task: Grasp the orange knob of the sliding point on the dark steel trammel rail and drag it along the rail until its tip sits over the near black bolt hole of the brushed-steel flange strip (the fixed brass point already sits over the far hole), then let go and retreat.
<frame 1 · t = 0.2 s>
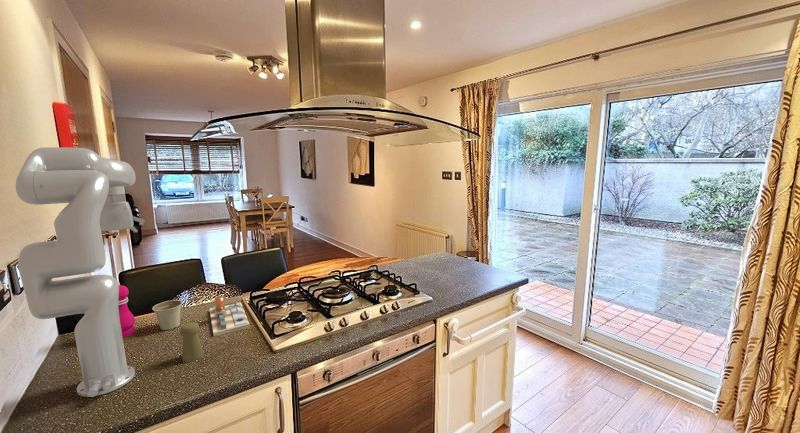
hand: (119, 243, 130), 31 cm above the countertop, fingers open, 9 cm apart
flower pot: (170, 326, 129), on the countertop
cork: (193, 356, 110), on the countertop
pepper mill: (124, 334, 124), on the countertop
sliding point: (226, 305, 135), point 5 cm above the countertop, slide at 1.0 cm
gauge board: (228, 318, 135), on the countertop
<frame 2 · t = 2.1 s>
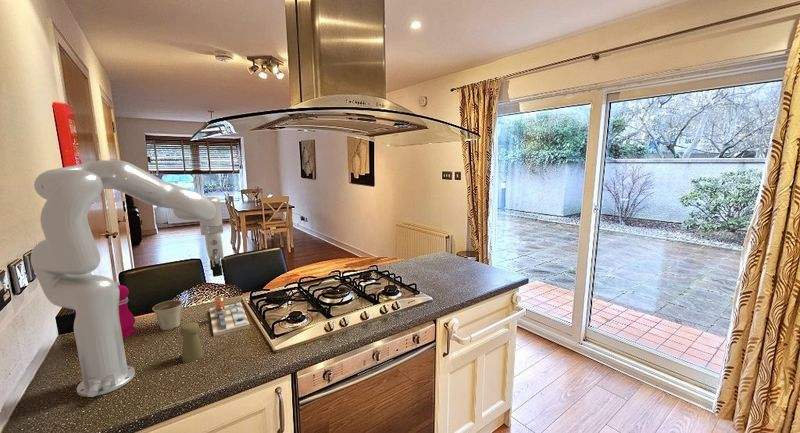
hand: (216, 272, 133), 19 cm above the countertop, fingers open, 9 cm apart
nothing on the countertop moved.
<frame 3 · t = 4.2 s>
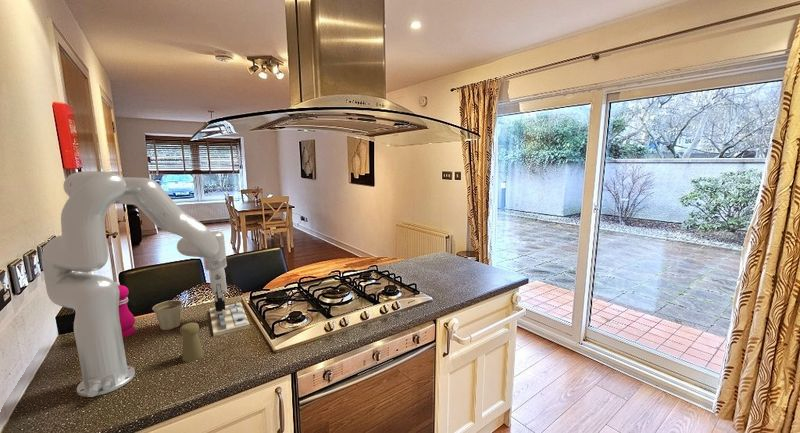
hand: (220, 308, 134), 5 cm above the countertop, fingers closed on sliding point, 3 cm apart
sliding point: (226, 305, 135), point 5 cm above the countertop, slide at 1.0 cm, touching gripper
everything else where it was.
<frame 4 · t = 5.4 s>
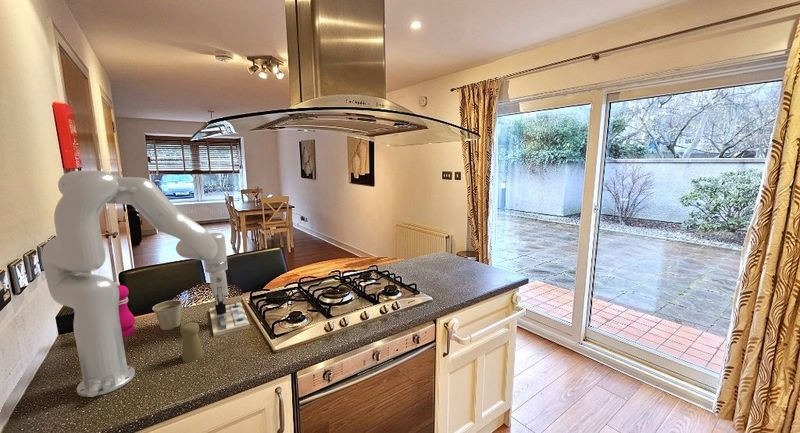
hand: (221, 311, 131), 5 cm above the countertop, fingers closed on sliding point, 3 cm apart
sliding point: (227, 308, 132), point 5 cm above the countertop, slide at -2.5 cm, touching gripper
everything else where it was.
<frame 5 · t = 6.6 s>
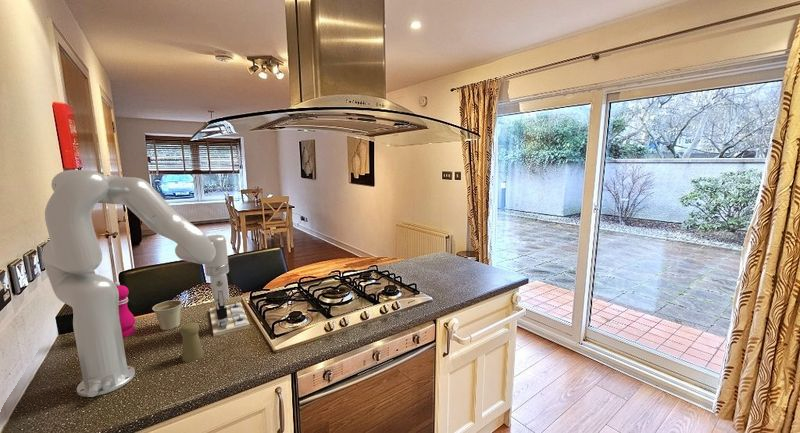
hand: (222, 315, 127), 5 cm above the countertop, fingers closed on sliding point, 3 cm apart
sliding point: (228, 312, 128), point 5 cm above the countertop, slide at -6.9 cm, touching gripper
everything else where it was.
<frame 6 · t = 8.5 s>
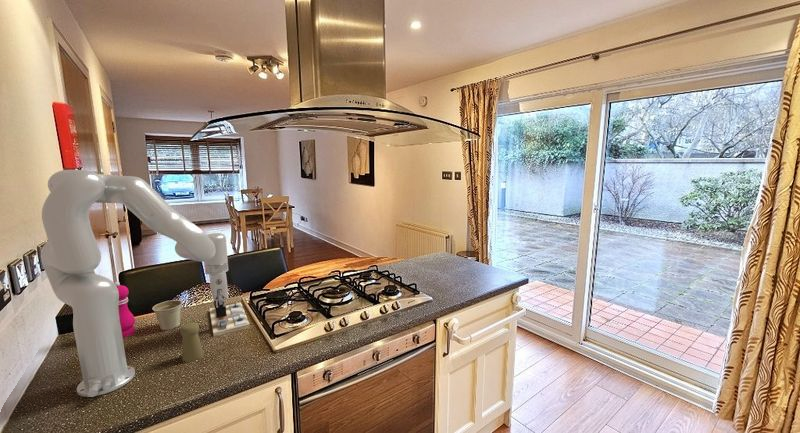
hand: (220, 312, 126), 7 cm above the countertop, fingers open, 9 cm apart
sliding point: (228, 312, 128), point 5 cm above the countertop, slide at -7.0 cm
everything else where it was.
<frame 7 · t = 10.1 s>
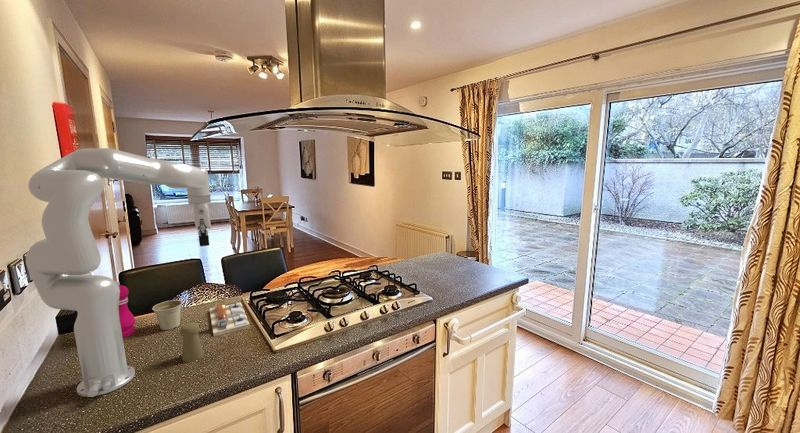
hand: (204, 243, 134), 30 cm above the countertop, fingers open, 9 cm apart
nothing on the countertop moved.
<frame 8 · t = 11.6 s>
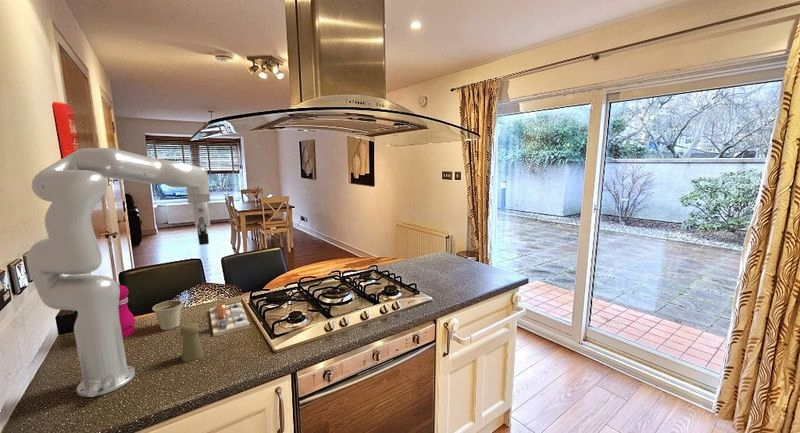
hand: (203, 241, 135), 30 cm above the countertop, fingers open, 9 cm apart
nothing on the countertop moved.
at the end: sliding point slide at -7.0 cm; the gripper is holding nothing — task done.
